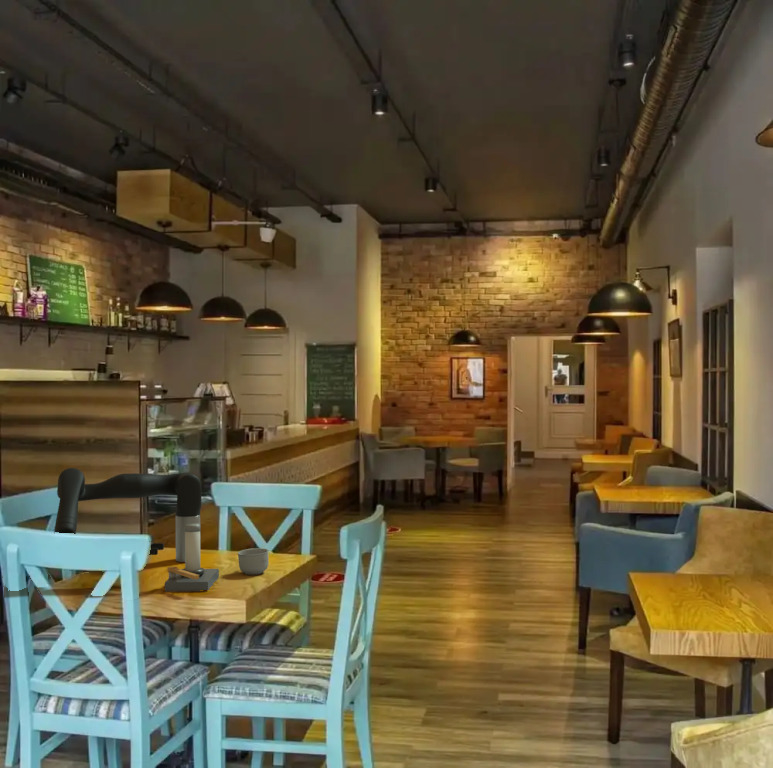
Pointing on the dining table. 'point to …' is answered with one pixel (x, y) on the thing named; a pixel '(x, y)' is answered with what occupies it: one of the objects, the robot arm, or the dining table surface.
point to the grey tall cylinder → (192, 549)
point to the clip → (183, 572)
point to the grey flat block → (191, 581)
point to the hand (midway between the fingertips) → (160, 548)
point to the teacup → (253, 560)
